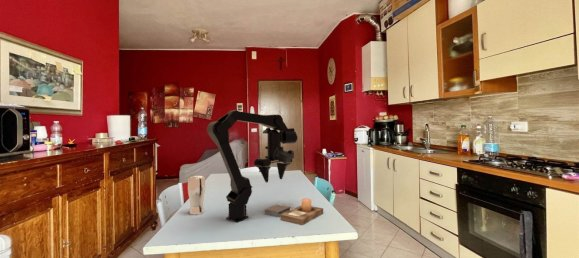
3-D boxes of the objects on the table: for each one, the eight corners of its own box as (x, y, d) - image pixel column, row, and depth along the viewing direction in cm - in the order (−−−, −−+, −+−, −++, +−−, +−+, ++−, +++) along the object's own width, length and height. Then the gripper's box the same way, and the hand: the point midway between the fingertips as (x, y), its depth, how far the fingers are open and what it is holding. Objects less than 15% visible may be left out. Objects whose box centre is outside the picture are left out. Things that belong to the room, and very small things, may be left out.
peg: (308, 216, 110) (307, 201, 110) (299, 214, 112) (299, 200, 112) (313, 214, 113) (313, 199, 113) (304, 212, 115) (304, 197, 115)
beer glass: (196, 216, 112) (195, 179, 112) (184, 213, 116) (183, 177, 116) (209, 211, 118) (208, 176, 118) (197, 209, 122) (197, 174, 122)
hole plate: (302, 225, 101) (302, 218, 101) (280, 219, 107) (280, 213, 107) (323, 213, 114) (323, 207, 114) (302, 209, 120) (302, 203, 120)
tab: (278, 217, 110) (278, 212, 110) (264, 214, 114) (264, 209, 114) (290, 211, 116) (290, 207, 116) (276, 209, 120) (276, 204, 120)
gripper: (273, 146, 106) (273, 187, 106) (302, 143, 121) (302, 179, 121) (253, 144, 113) (253, 183, 113) (282, 143, 127) (282, 176, 128)
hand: (274, 180), depth 118 cm, fingers open, 9 cm apart
